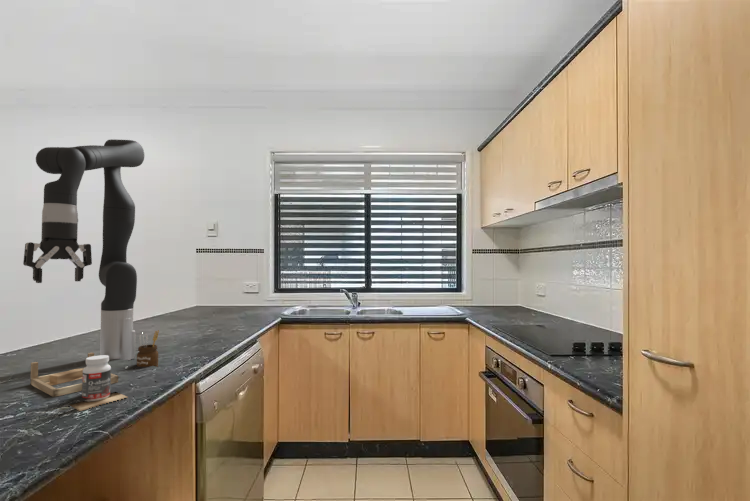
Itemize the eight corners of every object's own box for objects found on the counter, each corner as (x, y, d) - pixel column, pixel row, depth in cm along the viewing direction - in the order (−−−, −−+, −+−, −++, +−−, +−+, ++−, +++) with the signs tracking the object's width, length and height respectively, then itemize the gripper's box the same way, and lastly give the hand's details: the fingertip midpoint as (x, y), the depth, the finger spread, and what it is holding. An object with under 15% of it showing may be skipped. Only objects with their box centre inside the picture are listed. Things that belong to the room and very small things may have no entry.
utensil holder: (146, 365, 127) (147, 328, 127) (163, 366, 126) (164, 329, 126) (131, 370, 121) (132, 331, 121) (149, 371, 120) (150, 332, 120)
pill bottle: (88, 404, 92) (89, 361, 92) (77, 399, 95) (78, 358, 95) (114, 396, 97) (115, 356, 97) (103, 392, 100) (104, 353, 100)
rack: (92, 376, 115) (92, 352, 115) (118, 387, 105) (118, 361, 106) (30, 389, 103) (30, 362, 103) (53, 402, 94) (54, 373, 94)
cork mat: (109, 390, 103) (109, 389, 103) (127, 398, 97) (127, 396, 97) (62, 401, 94) (62, 400, 94) (79, 411, 89) (79, 409, 89)
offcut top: (77, 375, 111) (77, 368, 111) (84, 376, 110) (84, 369, 110) (49, 382, 104) (49, 375, 104) (57, 384, 103) (57, 376, 103)
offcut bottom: (82, 381, 112) (82, 374, 112) (89, 383, 110) (89, 376, 110) (43, 390, 104) (44, 382, 104) (50, 393, 102) (51, 385, 102)
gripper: (85, 224, 114) (84, 280, 113) (21, 220, 102) (19, 282, 102) (96, 223, 110) (95, 281, 109) (30, 218, 98) (29, 284, 97)
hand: (58, 282), depth 105 cm, fingers open, 8 cm apart
